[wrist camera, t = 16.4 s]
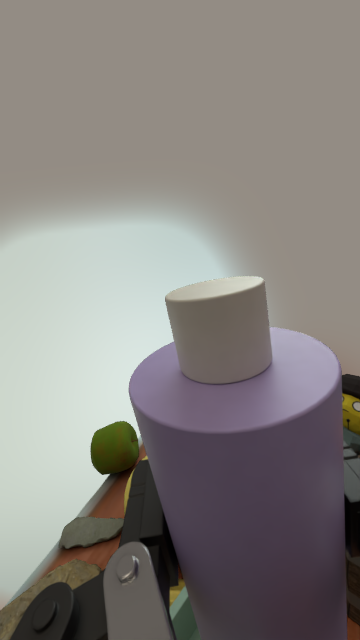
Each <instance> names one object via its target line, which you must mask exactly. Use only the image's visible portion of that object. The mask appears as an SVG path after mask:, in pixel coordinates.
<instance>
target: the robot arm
mask: <svg viewBox="0 0 360 640" xmlns="http://www.w3.org/2000/svg"><path fill="white" fill-rule="evenodd" d="M343 460H344V508H345V548H346V550H347V551H348V553H349V555H350V556H351V558H354V557H360V458H359V457H358V455H357V454H356V453H355V452H354V451H353V450H352V448H350V447H349V445H348V444H347V443H346V442H345V441H344V440H343ZM130 486H131V487H130V490H129V495H128V496H129V498H128V501H127V506H126V512H125V517H124V523H123V528H122V533H121V539H120V543H119V547H118V550H116V552H115V553H114V554H113V555H112V557H111V558H110V560H109V562H108V564H107V566H106V568H105V569H104V570H103V571H102V572H101V573H100V574H98V575H97V576H95V577H94V578H92V579H90V580H89V581H87V582H85V583H83V584H82V585H80V586H78V587H77V588H75V589H73V590H72V589H71V587H70V586H69V585H68V584H67V583H64V582H57V583H53V584H51V585H49V586H48V587H46V588H45V589H43V590H42V591H41V592H40V593H39V594H38V595H37V596H36V597H35V598H34V599H33V601H32V602H31V603H30V605H29V606H28V608H27V609H26V611H25V613H24V614H23V616H22V618H21V620H20V622H19V624H18V625H17V627H16V629H15V631H14V633H13V635H12V636H11V638H10V640H177V636H176V633H175V629H174V626H173V622H172V618H171V615H170V587H174V586H179V581H178V559H177V556H176V552H175V549H174V545H173V542H172V539H171V535H170V532H169V528H168V525H167V522H166V518H165V515H164V512H163V508H162V505H161V501H160V498H159V495H158V491H157V488H156V484H155V481H154V478H153V474H152V471H151V468H150V464H149V461H148V459H146V460H141V461H139V463H138V464H137V466H136V468H135V469H134V471H133V474H132V479H131V485H130Z"/></svg>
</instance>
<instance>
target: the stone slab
mask: <svg viewBox="0 0 360 640" xmlns="http://www.w3.org/2000/svg"><path fill="white" fill-rule="evenodd" d="M101 572H102V570H101V568H99V567H98V566H97V565H96V564H92V565H89V564H87V563H86V562H85V561H81V560H77V559H75V560H72V561H70V562H68V563H66V564H65V565H63V566H59V567H57V568H56V569H55V570H53V571H50V572H49V573H48V574H47V575H46V576H45V577H43V578H42V579H41V580H40V581H39V582H38V583H37V584H36V585H33V586H32V587H30V588H29V589H28V590H27V591H25V592H23V593H22V594H21V595H20V596H18V597H17V598H16V599H15V600H13V601H12V602H11V603H10V604H8V605H7V606H5V607H4V608H3V609H2V610H1V611H0V640H10V638H11V636H12V635H13V633H14V631H15V629H16V627H17V625H18V624H19V622H20V620H21V618H22V616H23V614H24V613H25V611H26V609H27V608H28V606H29V605H30V603H31V602H32V601H33V599H34V598H35V597H36V596H37V595H38V594H39V593H40V592H41V591H42V590H43V589H45V588H46V587H48V586H49V585H51V584H53V583H57V582H64V583H67V584H68V585H69V586H70V587H71V589H72V590H73V589H75V588H77V587H78V586H80V585H82V584H83V583H85V582H87V581H89V580H90V579H92V578H94V577H95V576H97V575H98V574H100V573H101Z"/></svg>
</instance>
